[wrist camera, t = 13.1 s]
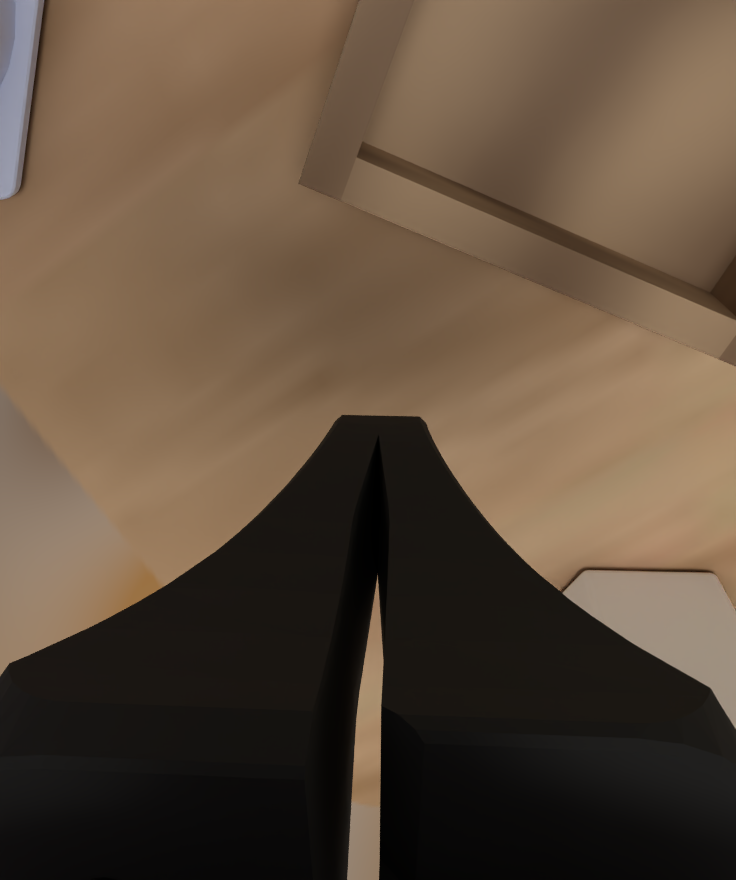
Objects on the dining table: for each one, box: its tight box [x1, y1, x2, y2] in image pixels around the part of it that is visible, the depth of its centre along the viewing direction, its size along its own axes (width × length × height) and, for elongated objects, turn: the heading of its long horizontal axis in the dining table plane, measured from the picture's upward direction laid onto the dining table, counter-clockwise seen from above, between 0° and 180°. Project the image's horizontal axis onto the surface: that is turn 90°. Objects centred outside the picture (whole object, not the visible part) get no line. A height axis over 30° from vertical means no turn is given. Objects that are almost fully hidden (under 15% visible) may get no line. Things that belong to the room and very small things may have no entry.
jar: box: [562, 570, 736, 729], centre depth 22 cm, size 9×8×12 cm
